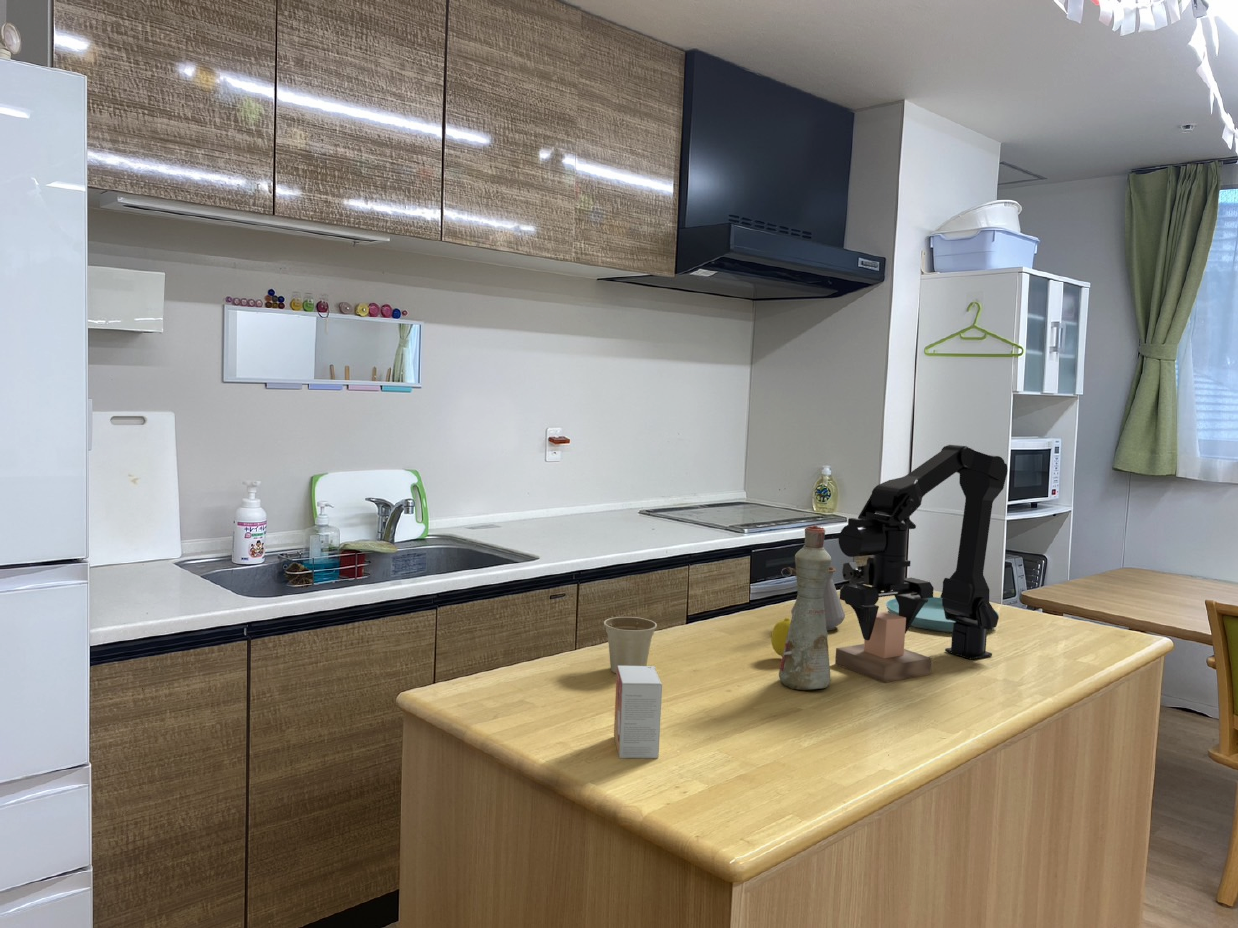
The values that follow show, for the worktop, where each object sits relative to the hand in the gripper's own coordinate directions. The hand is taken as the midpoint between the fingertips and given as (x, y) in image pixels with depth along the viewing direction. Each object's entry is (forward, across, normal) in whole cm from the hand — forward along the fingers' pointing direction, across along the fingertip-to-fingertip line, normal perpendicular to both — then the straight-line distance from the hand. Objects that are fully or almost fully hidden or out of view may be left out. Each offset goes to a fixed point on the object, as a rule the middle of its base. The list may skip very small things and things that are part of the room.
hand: (884, 637), depth 167 cm
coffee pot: (+6, -6, -27) cm, 28 cm away
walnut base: (+6, 0, 0) cm, 6 cm away
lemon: (+6, +13, -12) cm, 19 cm away
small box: (+6, +61, +12) cm, 62 cm away
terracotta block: (+3, 0, 0) cm, 3 cm away
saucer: (+7, -41, -21) cm, 46 cm away
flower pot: (+6, +44, -18) cm, 48 cm away
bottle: (+6, +20, +1) cm, 21 cm away
